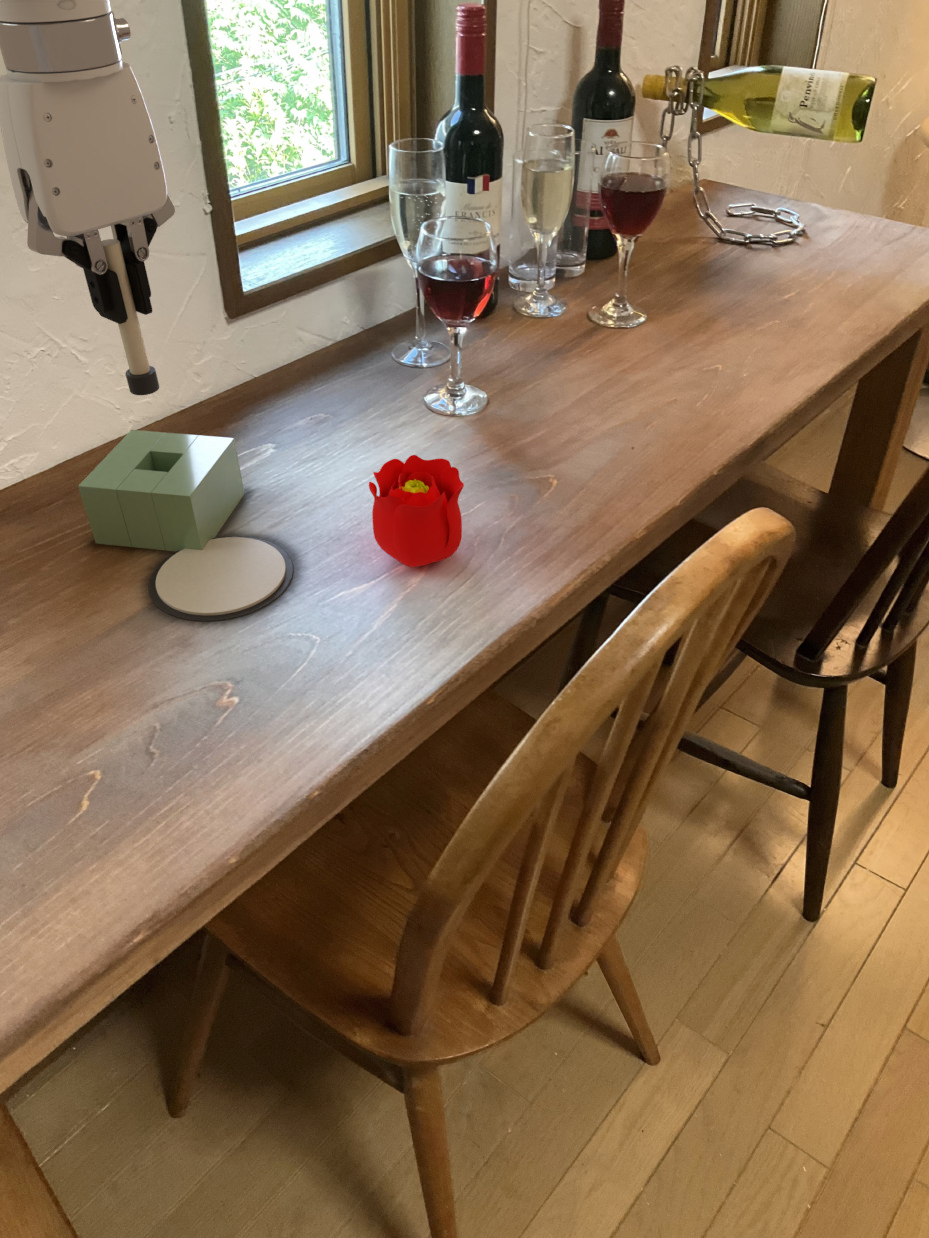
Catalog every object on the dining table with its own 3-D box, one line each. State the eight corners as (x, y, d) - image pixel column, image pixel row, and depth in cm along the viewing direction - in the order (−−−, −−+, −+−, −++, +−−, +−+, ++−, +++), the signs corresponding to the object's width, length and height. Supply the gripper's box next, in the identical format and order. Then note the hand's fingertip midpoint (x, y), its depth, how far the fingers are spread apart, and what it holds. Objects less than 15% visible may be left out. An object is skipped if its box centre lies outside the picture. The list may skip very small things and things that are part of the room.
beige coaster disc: (124, 613, 78) (122, 609, 77) (184, 532, 87) (183, 527, 86) (265, 629, 76) (264, 624, 76) (311, 544, 85) (310, 539, 85)
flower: (393, 525, 87) (387, 446, 82) (475, 536, 86) (475, 457, 81) (364, 575, 81) (356, 493, 76) (452, 587, 80) (450, 506, 75)
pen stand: (95, 544, 86) (77, 485, 82) (145, 485, 93) (131, 429, 90) (203, 554, 84) (189, 496, 80) (245, 494, 92) (234, 438, 88)
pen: (124, 394, 79) (86, 246, 72) (137, 381, 81) (101, 236, 74) (151, 396, 79) (115, 248, 71) (164, 383, 81) (130, 237, 73)
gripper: (128, 27, 71) (179, 276, 83) (-81, 59, 62) (10, 334, 73) (190, 37, 67) (234, 296, 79) (-23, 72, 58) (63, 360, 70)
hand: (125, 313), depth 76 cm, fingers closed on pen, 1 cm apart
